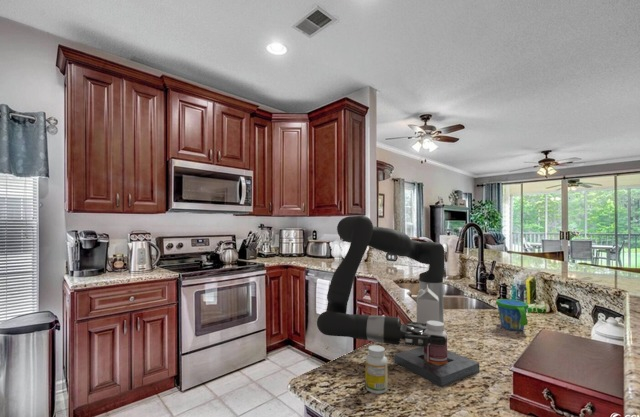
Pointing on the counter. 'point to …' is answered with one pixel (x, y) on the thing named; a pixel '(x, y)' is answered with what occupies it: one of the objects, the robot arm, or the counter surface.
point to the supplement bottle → (376, 370)
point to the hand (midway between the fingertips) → (444, 336)
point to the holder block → (440, 374)
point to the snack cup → (512, 314)
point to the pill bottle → (434, 351)
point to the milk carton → (427, 306)
